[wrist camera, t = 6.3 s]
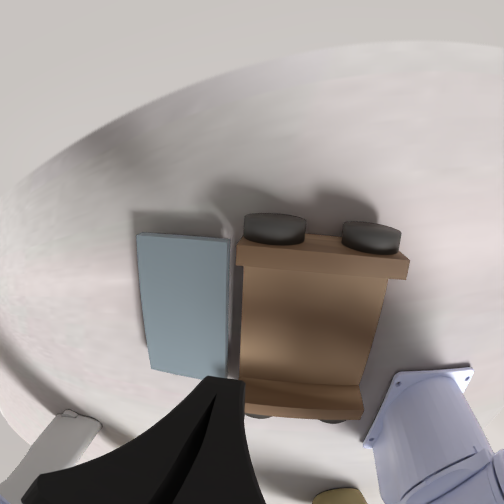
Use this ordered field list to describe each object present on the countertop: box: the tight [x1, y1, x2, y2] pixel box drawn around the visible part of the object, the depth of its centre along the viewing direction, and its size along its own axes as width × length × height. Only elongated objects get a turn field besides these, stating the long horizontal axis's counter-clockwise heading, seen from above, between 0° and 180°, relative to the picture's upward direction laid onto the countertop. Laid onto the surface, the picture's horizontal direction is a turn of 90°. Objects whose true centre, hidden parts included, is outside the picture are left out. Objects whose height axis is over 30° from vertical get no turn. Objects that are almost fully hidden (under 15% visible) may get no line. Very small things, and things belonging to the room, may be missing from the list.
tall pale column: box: [0, 410, 102, 504], centre depth 16 cm, size 11×4×22 cm, turn 111°
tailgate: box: [136, 232, 230, 380], centre depth 18 cm, size 10×1×6 cm
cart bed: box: [236, 213, 410, 424], centre depth 16 cm, size 13×8×4 cm, turn 177°
